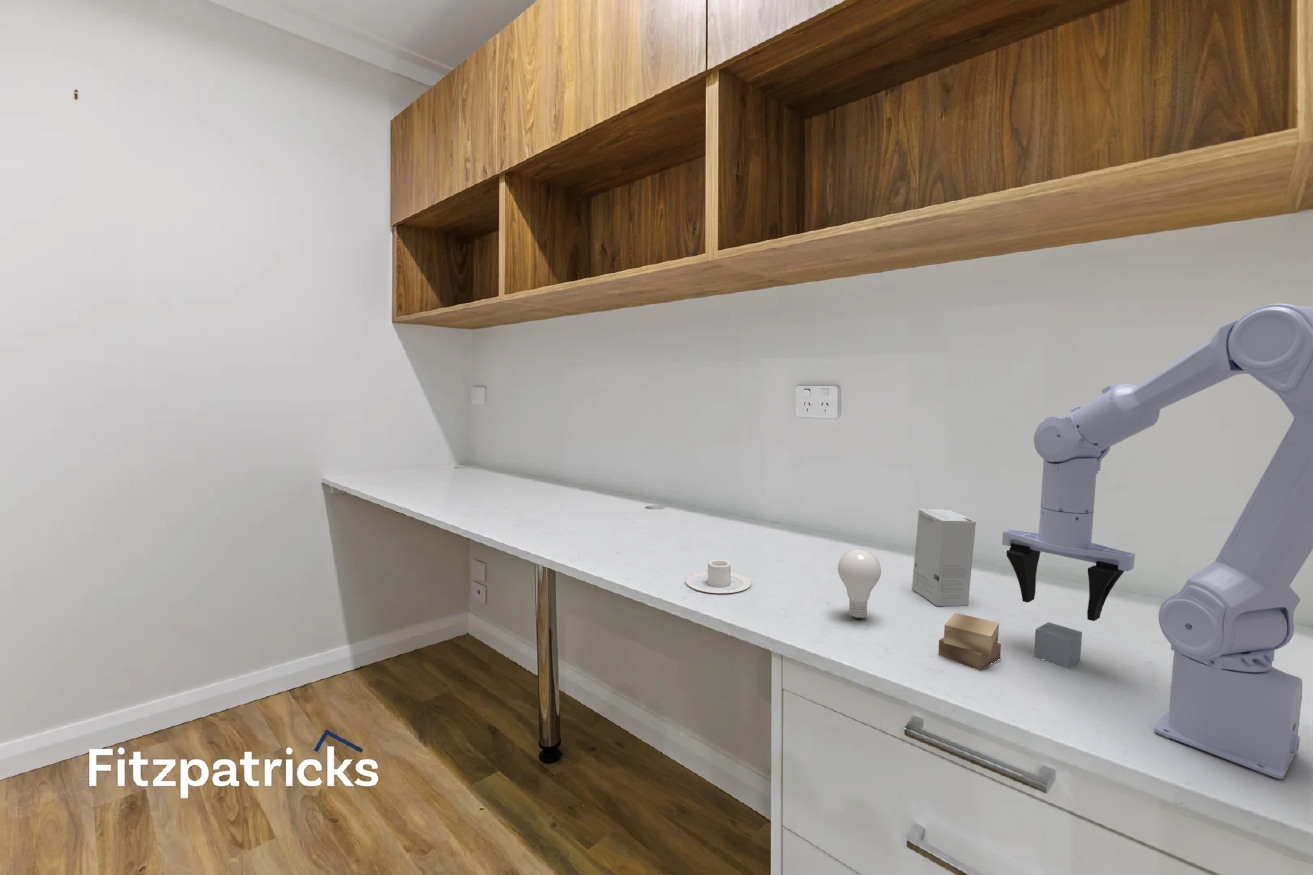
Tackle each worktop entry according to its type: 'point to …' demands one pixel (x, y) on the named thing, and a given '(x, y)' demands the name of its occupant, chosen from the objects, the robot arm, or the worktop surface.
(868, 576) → the lightbulb
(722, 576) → the candle holder
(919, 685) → the worktop surface
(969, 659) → the lower tile
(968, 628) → the upper tile
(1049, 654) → the cube
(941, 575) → the skincare box
